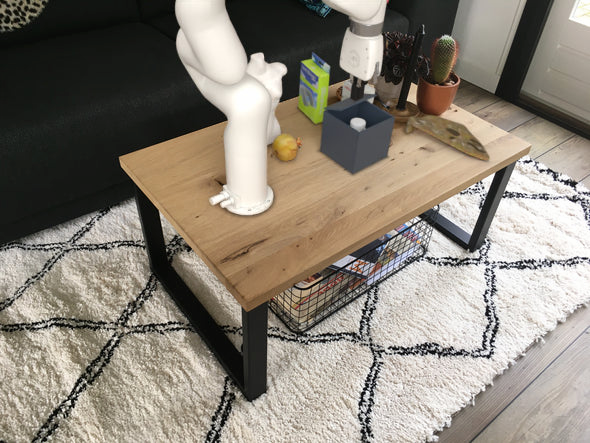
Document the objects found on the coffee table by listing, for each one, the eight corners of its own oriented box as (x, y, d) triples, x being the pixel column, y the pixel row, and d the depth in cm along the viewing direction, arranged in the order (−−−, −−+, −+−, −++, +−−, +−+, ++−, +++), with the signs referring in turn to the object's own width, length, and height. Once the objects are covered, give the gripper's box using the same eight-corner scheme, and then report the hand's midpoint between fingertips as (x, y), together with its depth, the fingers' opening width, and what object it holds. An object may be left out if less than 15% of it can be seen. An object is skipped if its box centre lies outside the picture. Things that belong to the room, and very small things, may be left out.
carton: (353, 174, 130) (359, 133, 122) (320, 150, 137) (323, 110, 129) (387, 156, 137) (395, 116, 128) (353, 135, 144) (359, 96, 135)
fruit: (278, 153, 126) (310, 140, 130) (264, 134, 129) (295, 123, 133) (274, 170, 132) (305, 158, 136) (261, 152, 134) (291, 140, 139)
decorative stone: (401, 132, 145) (407, 117, 142) (423, 118, 155) (430, 104, 152) (478, 175, 136) (487, 159, 133) (497, 157, 146) (505, 142, 143)
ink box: (370, 124, 148) (376, 88, 140) (358, 129, 146) (363, 93, 138) (350, 112, 153) (354, 76, 145) (338, 117, 151) (342, 80, 142)
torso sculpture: (240, 159, 133) (236, 71, 116) (222, 141, 139) (216, 55, 122) (296, 139, 141) (300, 54, 124) (276, 123, 147) (278, 40, 130)
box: (297, 108, 154) (300, 54, 142) (309, 105, 155) (312, 51, 143) (314, 125, 147) (319, 69, 135) (326, 121, 148) (332, 66, 137)
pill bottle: (347, 159, 134) (351, 128, 127) (340, 148, 138) (344, 117, 131) (366, 157, 135) (371, 126, 129) (359, 145, 139) (364, 115, 132)
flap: (340, 110, 124) (340, 109, 124) (324, 109, 129) (323, 107, 128) (377, 95, 130) (376, 94, 130) (359, 94, 135) (359, 93, 135)
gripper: (331, 19, 117) (325, 90, 129) (378, 42, 109) (367, 115, 121) (354, 12, 120) (346, 82, 133) (401, 33, 112) (388, 106, 125)
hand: (356, 98), depth 127 cm, fingers closed
